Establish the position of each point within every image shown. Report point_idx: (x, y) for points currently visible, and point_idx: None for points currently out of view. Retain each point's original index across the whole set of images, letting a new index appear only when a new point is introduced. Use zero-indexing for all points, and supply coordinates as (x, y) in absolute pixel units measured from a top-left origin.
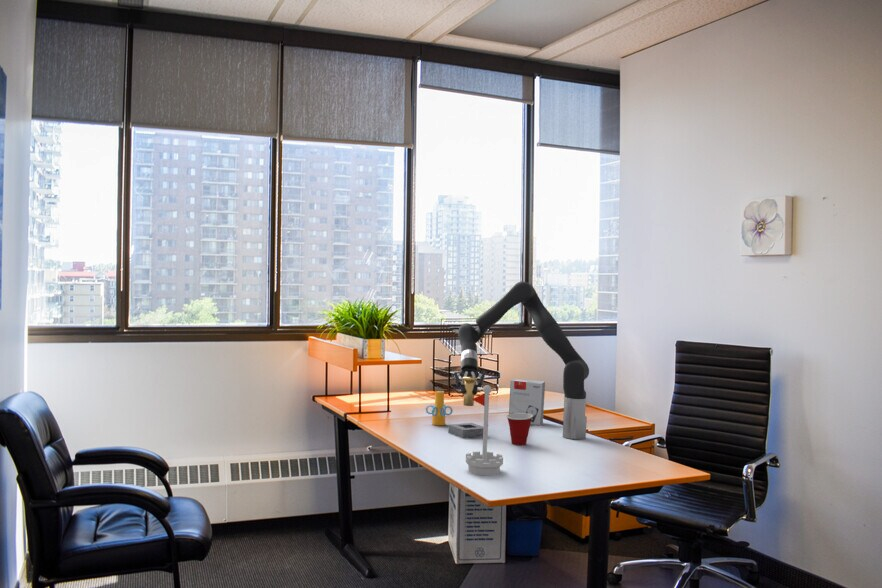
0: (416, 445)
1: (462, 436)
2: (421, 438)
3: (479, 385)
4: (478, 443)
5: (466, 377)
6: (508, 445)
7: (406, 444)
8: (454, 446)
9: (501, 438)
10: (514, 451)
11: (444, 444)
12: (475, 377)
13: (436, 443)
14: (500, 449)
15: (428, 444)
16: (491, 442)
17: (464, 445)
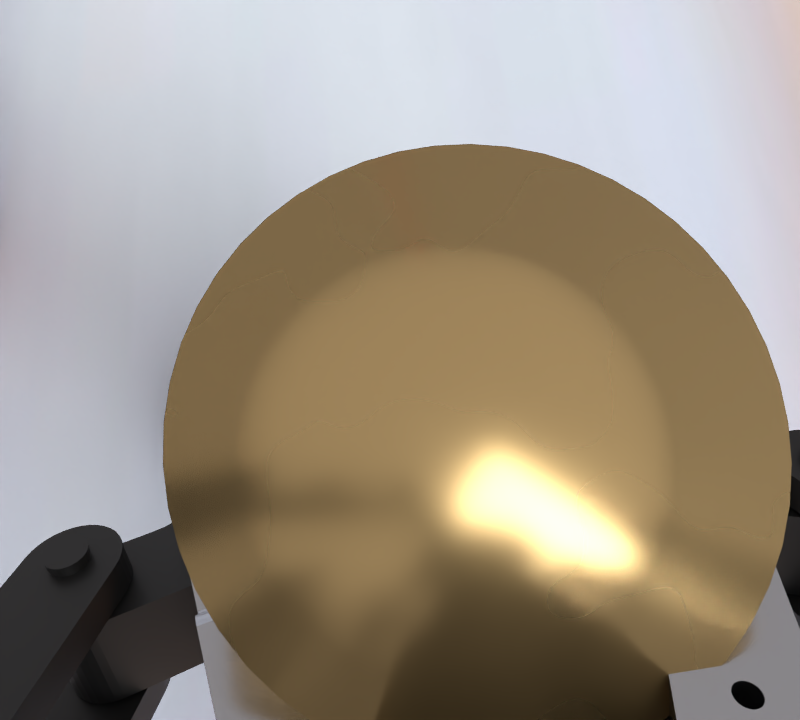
0: (713, 12)
1: None
2: (744, 229)
3: (134, 557)
4: (279, 182)
5: (608, 309)
6: (35, 179)
7: (786, 22)
8: (450, 48)
9: (74, 425)
10: (8, 12)
11: (531, 87)
12: (210, 472)
13: (594, 101)
14: (109, 43)
15: (642, 59)
16: (172, 244)
17: (382, 94)
